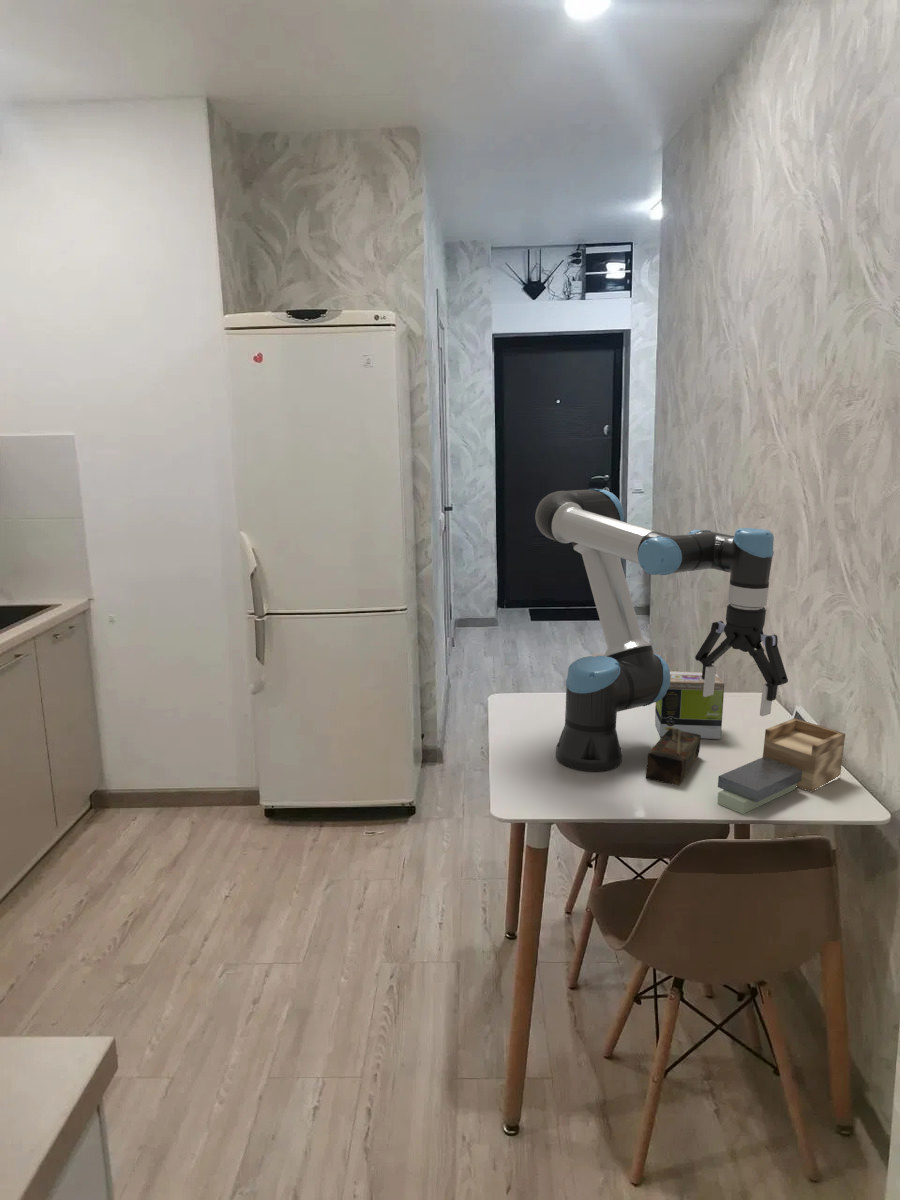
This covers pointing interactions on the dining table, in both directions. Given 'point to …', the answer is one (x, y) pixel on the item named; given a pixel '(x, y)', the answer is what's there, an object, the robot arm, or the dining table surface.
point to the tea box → (690, 706)
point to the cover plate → (759, 779)
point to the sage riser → (746, 800)
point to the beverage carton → (673, 756)
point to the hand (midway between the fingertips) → (735, 704)
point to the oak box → (806, 750)
